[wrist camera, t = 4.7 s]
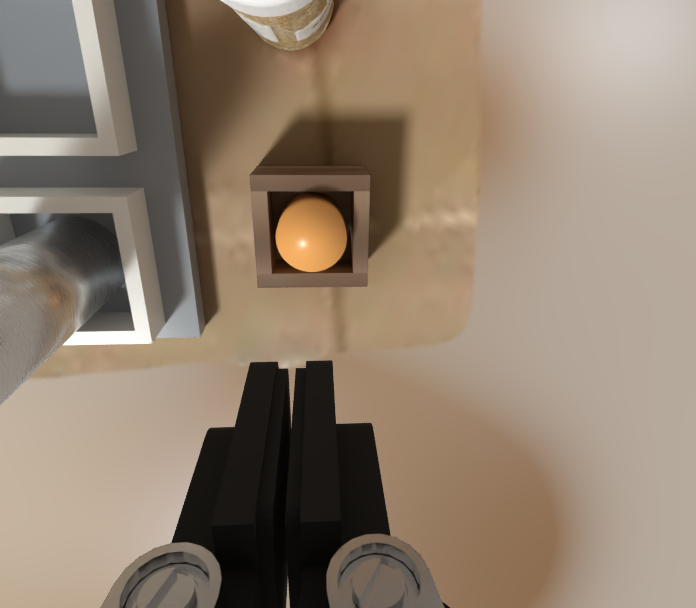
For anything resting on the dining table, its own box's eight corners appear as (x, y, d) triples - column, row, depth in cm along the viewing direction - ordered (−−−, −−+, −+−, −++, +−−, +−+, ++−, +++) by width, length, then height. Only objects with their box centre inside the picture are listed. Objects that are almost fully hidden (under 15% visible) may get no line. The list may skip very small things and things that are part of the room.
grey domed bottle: (24, 216, 26) (-196, 307, 15) (119, 216, 26) (-28, 304, 15) (47, 301, 28) (-132, 436, 17) (134, 300, 28) (15, 433, 17)
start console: (258, 165, 27) (249, 175, 24) (364, 165, 27) (370, 175, 24) (264, 266, 29) (257, 287, 26) (362, 265, 29) (367, 286, 26)
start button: (278, 191, 26) (273, 203, 23) (344, 191, 26) (347, 202, 23) (281, 254, 27) (277, 272, 25) (343, 254, 28) (346, 271, 25)
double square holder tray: (-108, -60, 22) (-194, -92, 18) (158, -53, 23) (127, -82, 19) (11, 329, 30) (-32, 362, 26) (205, 326, 31) (190, 357, 27)
